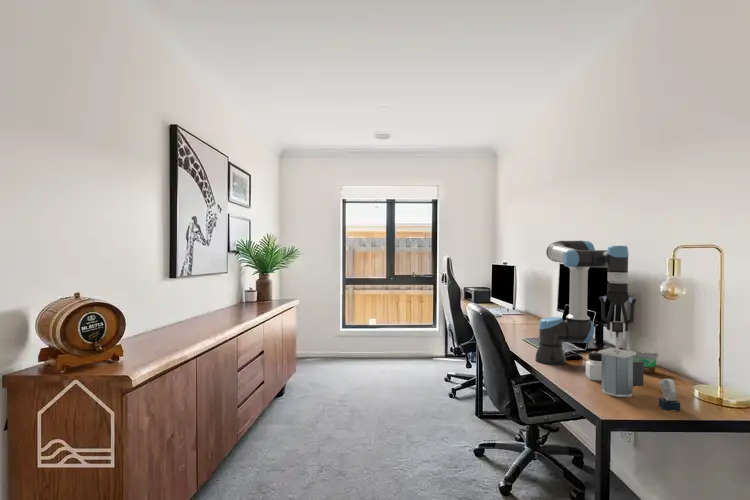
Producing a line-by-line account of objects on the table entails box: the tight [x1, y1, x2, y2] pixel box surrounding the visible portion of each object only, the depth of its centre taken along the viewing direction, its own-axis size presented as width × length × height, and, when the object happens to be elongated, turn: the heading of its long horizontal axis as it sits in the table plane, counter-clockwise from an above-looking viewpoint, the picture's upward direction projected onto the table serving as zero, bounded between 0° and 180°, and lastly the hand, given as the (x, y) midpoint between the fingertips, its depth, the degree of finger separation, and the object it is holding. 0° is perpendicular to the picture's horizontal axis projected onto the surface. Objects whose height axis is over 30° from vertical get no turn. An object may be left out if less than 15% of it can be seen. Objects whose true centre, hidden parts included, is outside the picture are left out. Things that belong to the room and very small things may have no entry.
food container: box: [630, 349, 659, 375], centre depth 214 cm, size 12×6×10 cm, turn 73°
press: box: [597, 347, 645, 399], centre depth 183 cm, size 16×12×17 cm
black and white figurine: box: [585, 351, 602, 382], centre depth 203 cm, size 7×7×12 cm
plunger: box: [611, 320, 624, 352], centre depth 182 cm, size 9×9×23 cm
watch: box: [658, 378, 681, 412], centre depth 165 cm, size 6×8×11 cm
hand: (617, 338), depth 182 cm, fingers closed on plunger, 4 cm apart
